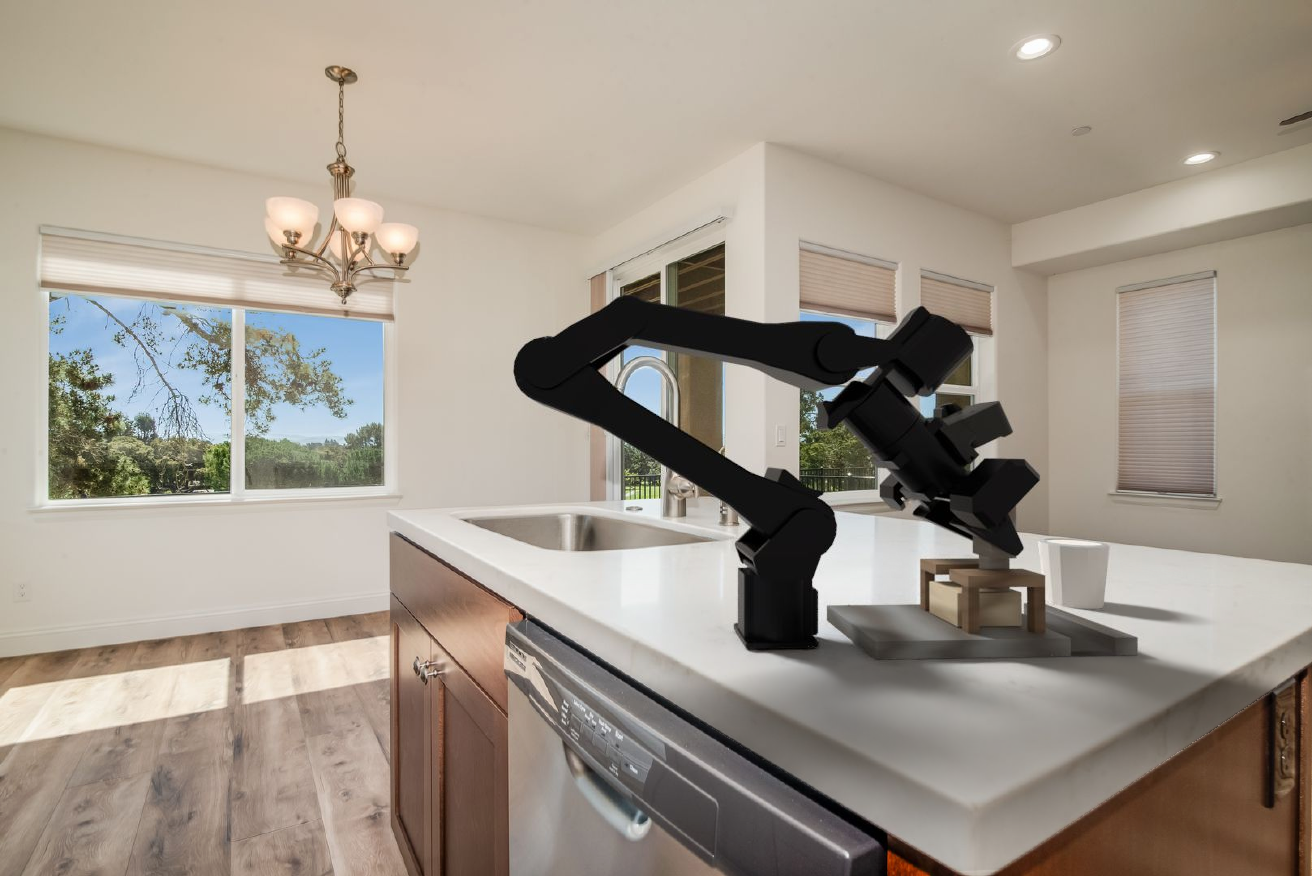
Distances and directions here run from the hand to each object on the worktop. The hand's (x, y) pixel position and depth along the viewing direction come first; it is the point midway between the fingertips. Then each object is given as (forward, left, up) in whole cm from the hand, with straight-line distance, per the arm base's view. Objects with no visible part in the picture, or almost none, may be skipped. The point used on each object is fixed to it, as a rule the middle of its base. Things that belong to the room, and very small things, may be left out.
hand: (1008, 549), depth 59 cm
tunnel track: (-4, 0, -8) cm, 9 cm away
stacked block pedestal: (-3, 0, -6) cm, 7 cm away
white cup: (+16, +12, -8) cm, 21 cm away
